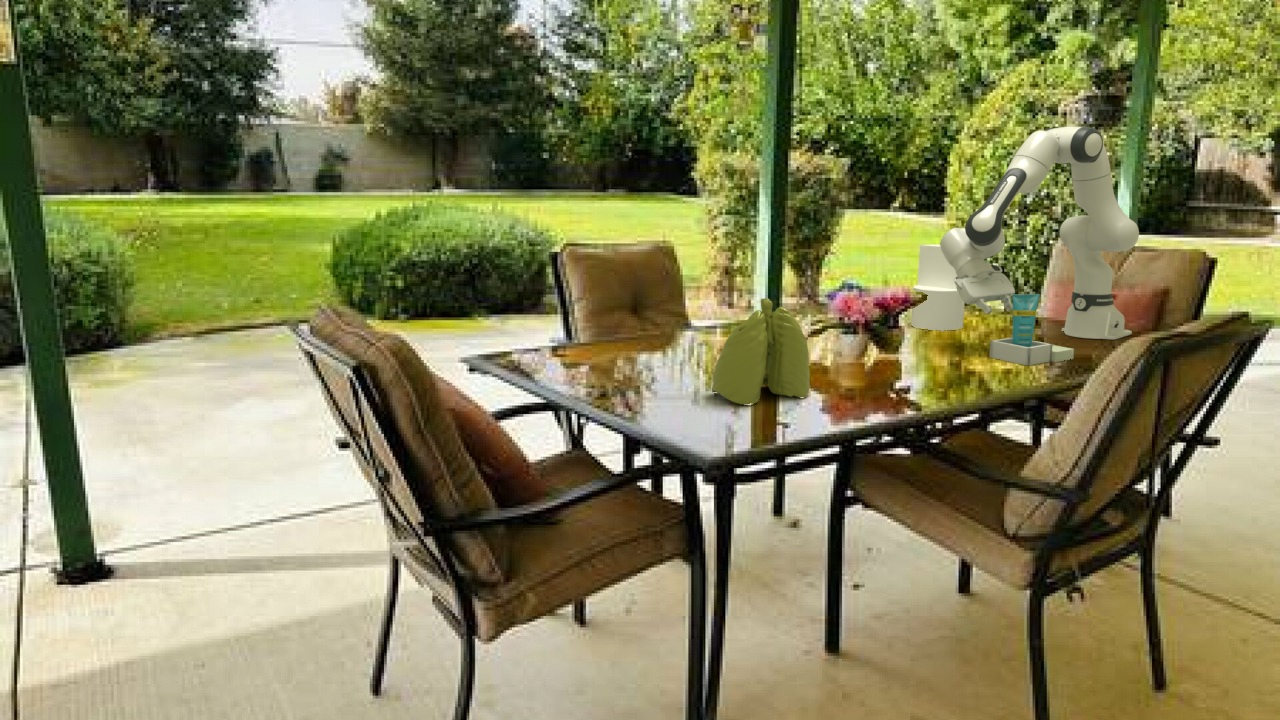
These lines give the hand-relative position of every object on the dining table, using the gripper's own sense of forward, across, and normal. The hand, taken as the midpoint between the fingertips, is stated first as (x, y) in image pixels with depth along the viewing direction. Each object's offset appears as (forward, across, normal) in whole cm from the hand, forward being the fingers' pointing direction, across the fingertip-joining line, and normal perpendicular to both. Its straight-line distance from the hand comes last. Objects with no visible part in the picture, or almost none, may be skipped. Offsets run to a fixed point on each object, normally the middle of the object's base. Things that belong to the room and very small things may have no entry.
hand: (1000, 311), depth 268 cm
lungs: (+10, -90, +9) cm, 91 cm away
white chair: (-20, +21, +39) cm, 49 cm away
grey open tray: (+15, +4, +3) cm, 16 cm away
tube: (+15, 0, +4) cm, 16 cm away
